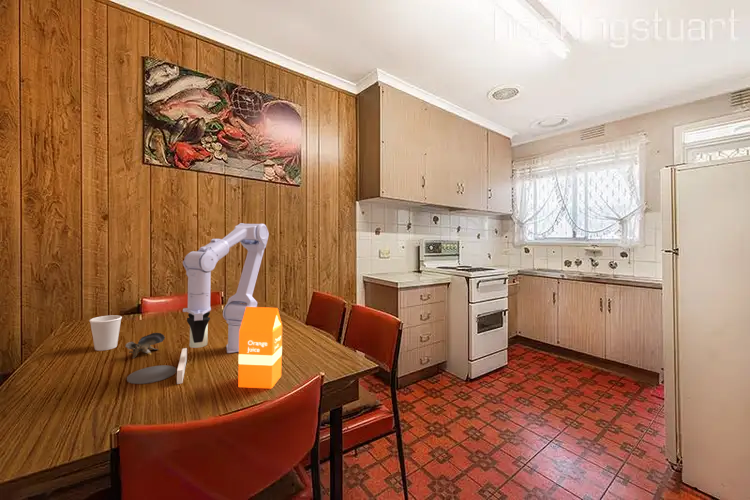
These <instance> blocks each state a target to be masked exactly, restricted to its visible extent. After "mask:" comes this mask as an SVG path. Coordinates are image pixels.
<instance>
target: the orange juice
mask: <svg viewBox="0 0 750 500" xmlns="http://www.w3.org/2000/svg"><path fill="white" fill-rule="evenodd" d="M282 354H283V323H282V320H281V316H280V312H279V308H278V307H262V306H257V307H246V309H245V313H244V316H243V320H242V323H241V327H240V330H239V352H238V382H237V383H238V387H237V388H250V389H251V388H252V389H272V388H273V387H275V385H276V383H277V382H278V381H279V379H281V377H282V363H283V361H282V359H283V357H282Z"/></svg>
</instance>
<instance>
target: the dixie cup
mask: <svg viewBox="0 0 750 500" xmlns="http://www.w3.org/2000/svg"><path fill="white" fill-rule="evenodd" d="M122 318H123V316H121V315H113V314H112V315H111V314H109V315H101V316H97V317H93V318H90V319H89V322H90V329H91V333H92V340H93V345H94V346H93V347H94V350H95V351H97V352H99V351H100V352H101V351H107V350H108V351H109V350H112V349H115V348H117V346H118V341H119V334H120V329H121V321H122Z"/></svg>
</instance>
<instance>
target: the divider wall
mask: <svg viewBox="0 0 750 500" xmlns="http://www.w3.org/2000/svg"><path fill="white" fill-rule="evenodd" d="M187 360H188V347H185V348H181V353H180V357H179V362H178V366H177V368H176V384H177V385H179V384H181V385H182V384H183V383H184V377H185V371H186V366H187Z"/></svg>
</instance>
